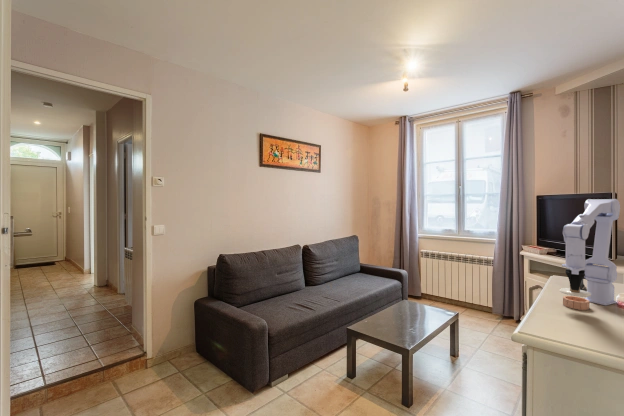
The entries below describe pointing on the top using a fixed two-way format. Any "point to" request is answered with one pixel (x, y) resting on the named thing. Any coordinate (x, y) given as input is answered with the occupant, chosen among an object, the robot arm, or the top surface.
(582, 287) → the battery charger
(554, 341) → the top surface
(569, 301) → the bowl
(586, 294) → the lid
